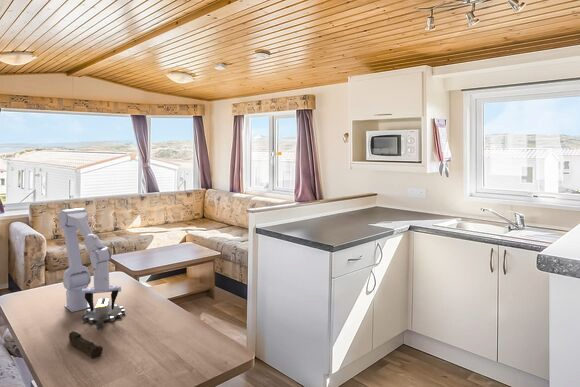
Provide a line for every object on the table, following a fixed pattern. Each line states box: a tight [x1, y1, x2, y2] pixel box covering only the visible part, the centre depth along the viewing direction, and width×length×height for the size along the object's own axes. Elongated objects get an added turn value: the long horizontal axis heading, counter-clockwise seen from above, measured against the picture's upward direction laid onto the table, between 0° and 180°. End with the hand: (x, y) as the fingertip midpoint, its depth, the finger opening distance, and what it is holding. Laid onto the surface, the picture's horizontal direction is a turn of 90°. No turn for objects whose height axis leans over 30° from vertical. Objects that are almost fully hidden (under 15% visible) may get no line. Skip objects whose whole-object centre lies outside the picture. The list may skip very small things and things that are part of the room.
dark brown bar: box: [68, 330, 103, 360], centre depth 144 cm, size 19×4×5 cm, turn 52°
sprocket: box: [82, 296, 126, 324], centre depth 172 cm, size 16×16×5 cm
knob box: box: [95, 297, 111, 320], centre depth 169 cm, size 10×4×5 cm, turn 18°
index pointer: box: [96, 320, 105, 330], centre depth 161 cm, size 3×2×2 cm, turn 18°
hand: (102, 309), depth 168 cm, fingers open, 7 cm apart
